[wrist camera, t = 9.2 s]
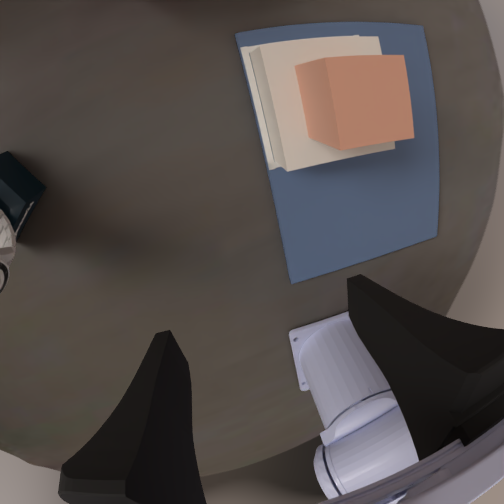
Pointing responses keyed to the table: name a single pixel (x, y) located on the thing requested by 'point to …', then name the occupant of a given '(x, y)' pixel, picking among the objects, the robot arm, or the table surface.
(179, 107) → the table surface
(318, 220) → the blueprint board
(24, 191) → the watch
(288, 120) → the base block
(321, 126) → the terracotta block
